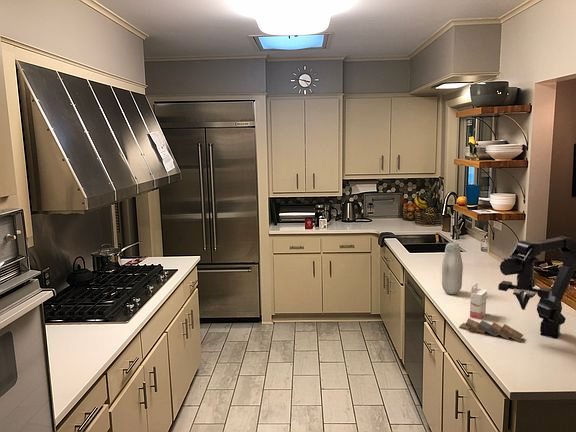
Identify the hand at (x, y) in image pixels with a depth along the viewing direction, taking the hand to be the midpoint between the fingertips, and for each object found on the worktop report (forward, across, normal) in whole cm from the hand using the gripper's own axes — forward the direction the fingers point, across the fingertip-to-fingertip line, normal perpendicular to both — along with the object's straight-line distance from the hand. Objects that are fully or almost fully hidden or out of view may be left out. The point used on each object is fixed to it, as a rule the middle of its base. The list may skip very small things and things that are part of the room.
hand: (523, 309), depth 188 cm
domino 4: (+12, 0, +1) cm, 12 cm away
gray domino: (+12, +9, +2) cm, 15 cm away
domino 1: (+13, +16, +2) cm, 21 cm away
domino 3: (+12, +4, +1) cm, 13 cm away
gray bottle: (+13, +45, -39) cm, 61 cm away
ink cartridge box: (+13, +23, -16) cm, 31 cm away
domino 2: (+12, +14, +2) cm, 18 cm away
